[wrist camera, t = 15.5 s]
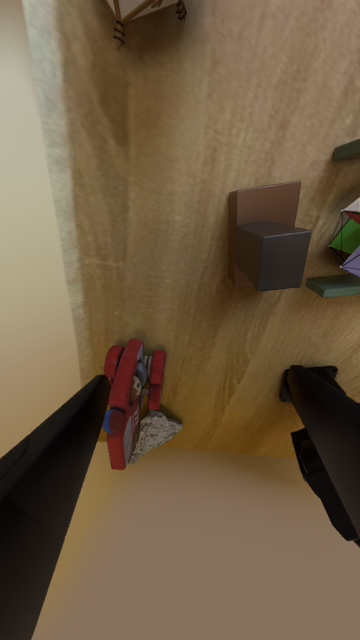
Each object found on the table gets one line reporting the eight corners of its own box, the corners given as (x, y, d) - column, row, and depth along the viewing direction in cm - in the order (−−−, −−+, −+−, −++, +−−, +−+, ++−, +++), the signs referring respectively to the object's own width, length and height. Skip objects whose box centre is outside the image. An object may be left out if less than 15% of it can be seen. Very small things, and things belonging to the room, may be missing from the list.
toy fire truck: (168, 333, 24) (157, 410, 15) (161, 397, 30) (150, 478, 21) (112, 326, 24) (67, 400, 15) (116, 392, 30) (86, 472, 21)
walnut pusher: (273, 273, 20) (328, 318, 12) (229, 278, 20) (255, 324, 12) (283, 183, 16) (374, 165, 8) (229, 192, 16) (266, 182, 9)
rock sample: (181, 465, 33) (142, 496, 26) (152, 436, 38) (112, 457, 31) (198, 410, 32) (163, 427, 26) (166, 387, 37) (129, 397, 30)
